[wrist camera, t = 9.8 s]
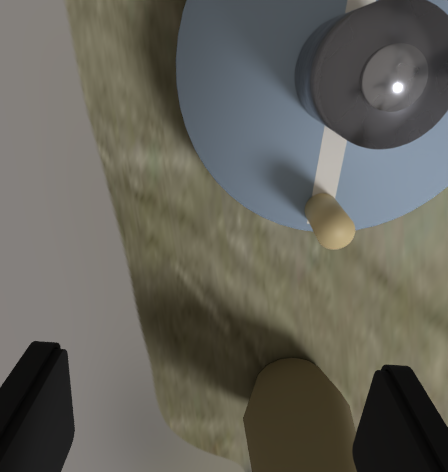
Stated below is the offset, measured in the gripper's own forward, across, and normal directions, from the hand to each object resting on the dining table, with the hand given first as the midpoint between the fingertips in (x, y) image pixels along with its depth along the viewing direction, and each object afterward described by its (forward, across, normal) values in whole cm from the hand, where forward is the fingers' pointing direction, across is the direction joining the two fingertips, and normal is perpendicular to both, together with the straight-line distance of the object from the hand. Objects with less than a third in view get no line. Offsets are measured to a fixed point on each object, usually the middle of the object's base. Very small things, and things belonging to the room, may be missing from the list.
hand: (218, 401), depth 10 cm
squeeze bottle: (+18, -7, +16) cm, 26 cm away
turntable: (+17, -6, -7) cm, 19 cm away
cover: (+15, -6, -8) cm, 18 cm away
